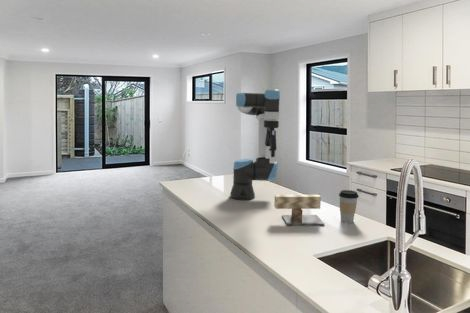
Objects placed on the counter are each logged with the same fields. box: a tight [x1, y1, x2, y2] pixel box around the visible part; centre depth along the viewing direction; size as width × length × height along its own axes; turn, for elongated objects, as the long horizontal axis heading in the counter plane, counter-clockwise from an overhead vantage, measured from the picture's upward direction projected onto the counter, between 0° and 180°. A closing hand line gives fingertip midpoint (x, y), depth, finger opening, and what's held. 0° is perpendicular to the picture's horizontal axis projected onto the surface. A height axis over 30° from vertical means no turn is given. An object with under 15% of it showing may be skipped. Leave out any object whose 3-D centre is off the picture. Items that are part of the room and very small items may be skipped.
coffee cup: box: [338, 189, 360, 224], centre depth 187 cm, size 9×9×15 cm
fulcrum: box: [281, 209, 325, 227], centre depth 187 cm, size 18×14×7 cm
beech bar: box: [274, 194, 322, 210], centre depth 186 cm, size 22×4×6 cm, turn 94°
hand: (270, 160), depth 198 cm, fingers open, 13 cm apart
